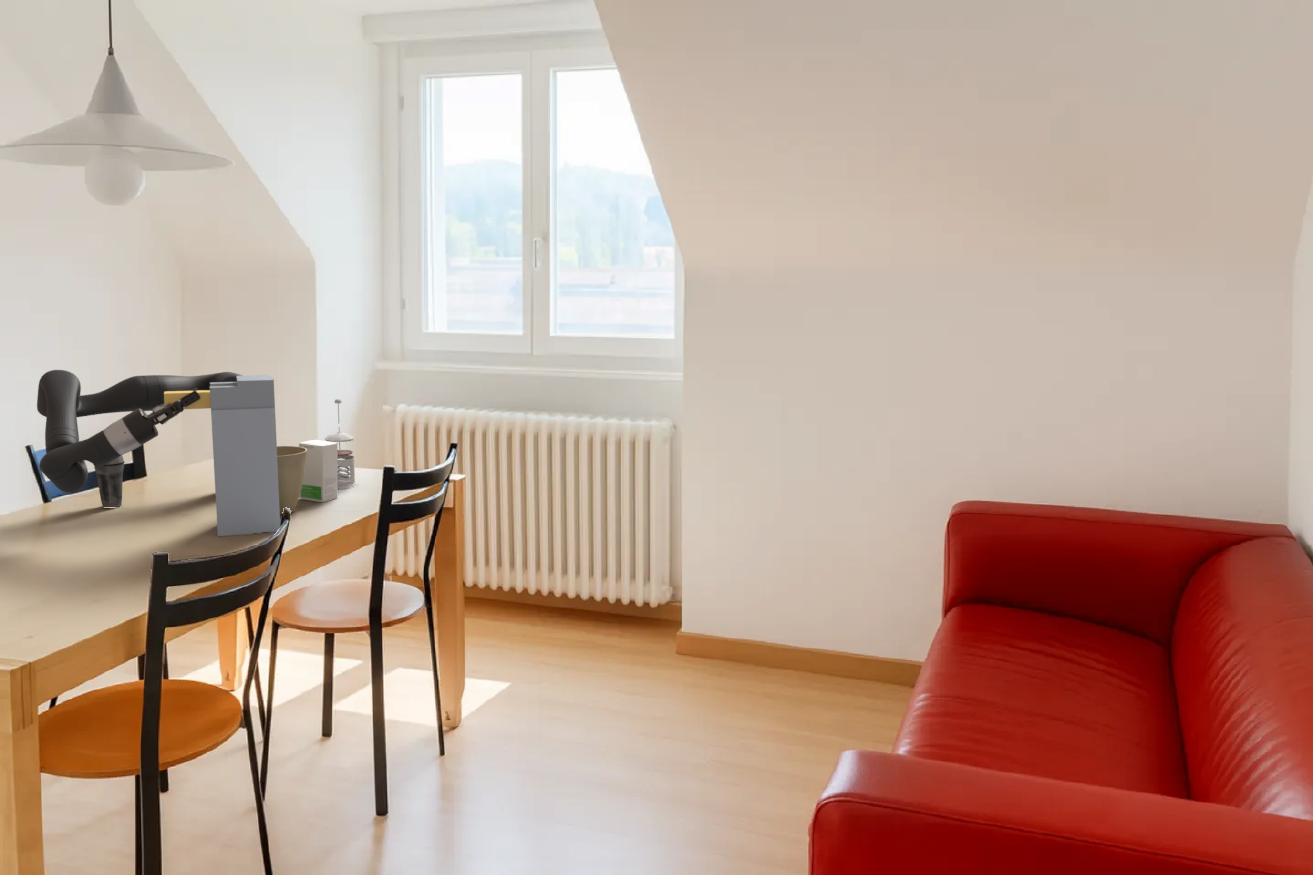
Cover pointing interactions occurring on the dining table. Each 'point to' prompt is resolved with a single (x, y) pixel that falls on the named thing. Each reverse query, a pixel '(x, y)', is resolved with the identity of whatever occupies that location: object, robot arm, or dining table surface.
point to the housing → (245, 455)
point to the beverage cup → (111, 482)
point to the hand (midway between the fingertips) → (198, 393)
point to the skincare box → (320, 471)
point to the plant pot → (290, 475)
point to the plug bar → (174, 395)
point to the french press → (343, 479)
